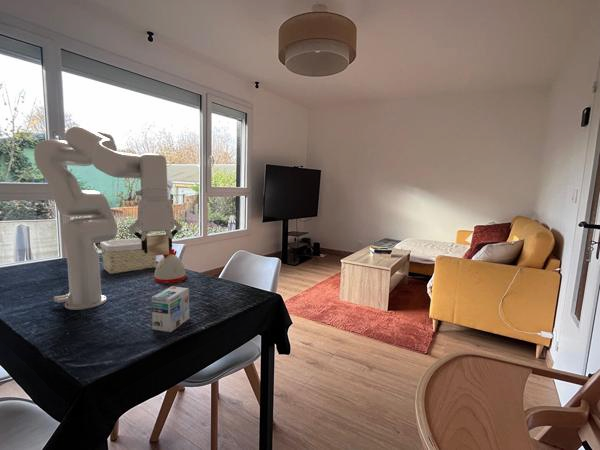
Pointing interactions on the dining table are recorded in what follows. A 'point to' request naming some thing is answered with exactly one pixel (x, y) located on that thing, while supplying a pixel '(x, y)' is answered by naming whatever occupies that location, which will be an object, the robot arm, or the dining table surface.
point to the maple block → (157, 244)
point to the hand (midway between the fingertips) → (157, 250)
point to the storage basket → (125, 256)
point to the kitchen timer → (169, 269)
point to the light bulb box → (170, 308)
